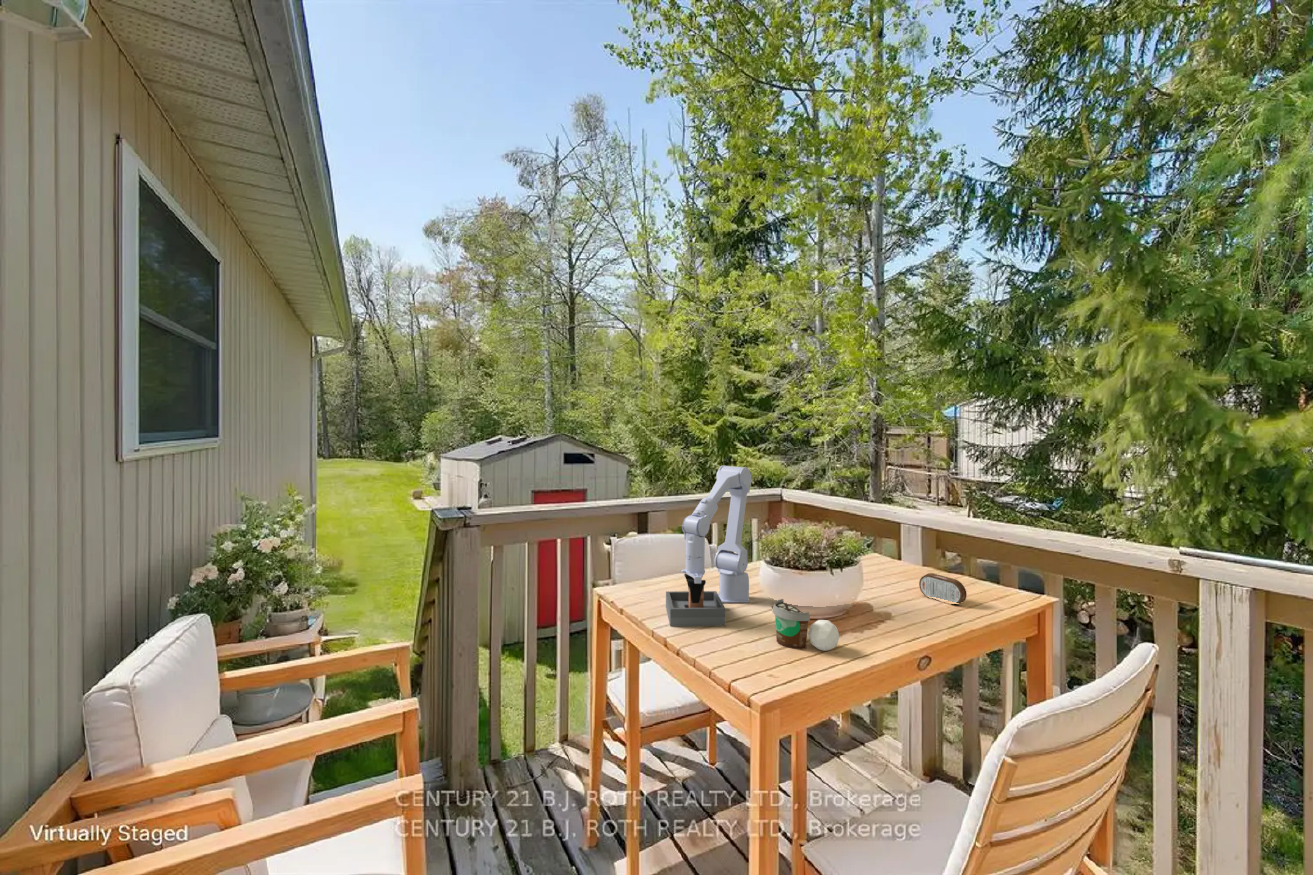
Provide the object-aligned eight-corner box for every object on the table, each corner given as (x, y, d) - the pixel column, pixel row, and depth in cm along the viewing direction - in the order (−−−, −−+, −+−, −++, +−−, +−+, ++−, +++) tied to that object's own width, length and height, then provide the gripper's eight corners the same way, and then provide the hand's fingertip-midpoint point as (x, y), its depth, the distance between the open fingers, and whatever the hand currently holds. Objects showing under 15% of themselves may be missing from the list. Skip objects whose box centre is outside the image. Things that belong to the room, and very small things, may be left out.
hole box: (715, 606, 182) (716, 591, 182) (725, 625, 166) (725, 608, 166) (665, 607, 181) (666, 591, 181) (670, 626, 165) (670, 609, 165)
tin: (966, 607, 185) (967, 581, 184) (961, 608, 183) (962, 582, 182) (922, 594, 197) (923, 570, 197) (917, 595, 195) (918, 571, 195)
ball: (818, 655, 153) (817, 625, 157) (846, 653, 148) (843, 622, 152) (803, 648, 149) (802, 617, 153) (831, 645, 144) (829, 613, 148)
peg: (701, 606, 176) (702, 580, 175) (703, 610, 172) (704, 584, 171) (688, 606, 175) (689, 580, 175) (689, 610, 171) (690, 584, 171)
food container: (762, 636, 159) (763, 600, 158) (781, 633, 161) (782, 598, 160) (789, 654, 147) (790, 615, 147) (809, 650, 150) (810, 612, 149)
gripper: (679, 549, 180) (678, 592, 180) (684, 562, 165) (683, 608, 166) (701, 549, 180) (701, 592, 181) (708, 561, 166) (708, 608, 166)
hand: (694, 599), depth 173 cm, fingers closed on peg, 4 cm apart
